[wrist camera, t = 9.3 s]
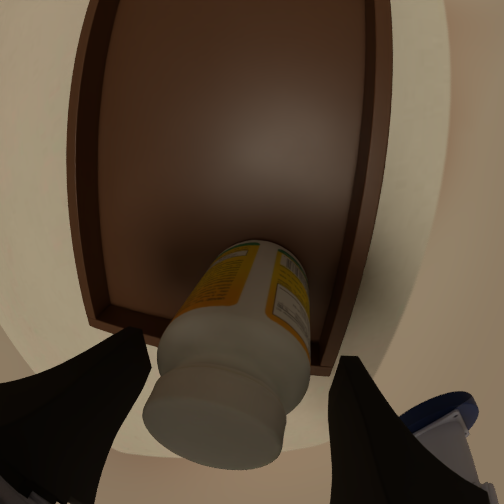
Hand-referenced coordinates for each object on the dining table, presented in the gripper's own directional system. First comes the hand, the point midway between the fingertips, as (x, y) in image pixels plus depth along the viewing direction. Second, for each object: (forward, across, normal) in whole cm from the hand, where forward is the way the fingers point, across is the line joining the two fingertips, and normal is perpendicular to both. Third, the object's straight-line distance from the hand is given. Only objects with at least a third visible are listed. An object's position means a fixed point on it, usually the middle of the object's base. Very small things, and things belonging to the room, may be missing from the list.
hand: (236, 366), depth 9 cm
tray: (+7, +2, -11) cm, 13 cm away
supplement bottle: (+6, 0, 0) cm, 6 cm away
